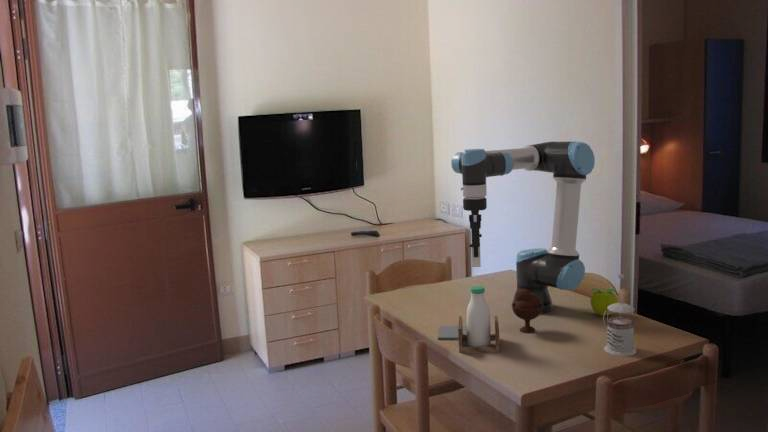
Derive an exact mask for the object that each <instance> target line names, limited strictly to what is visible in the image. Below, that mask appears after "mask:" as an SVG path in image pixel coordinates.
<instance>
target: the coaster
mask: <svg viewBox="0 0 768 432" xmlns="http://www.w3.org/2000/svg"><path fill="white" fill-rule="evenodd" d="M462 329H463V334H467V325H462ZM444 340H445V341H446V340H448V341H451V340H452V341H456V340H457V341H459V336H458V325H439V327H438V336H437V341H444ZM464 340H467V337H463V341H464Z"/></svg>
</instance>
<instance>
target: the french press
mask: <svg viewBox="0 0 768 432" xmlns="http://www.w3.org/2000/svg"><path fill="white" fill-rule="evenodd" d="M617 278H619V279H624V278H625V274H623V273H619V274H618V275H617ZM619 299H620V300H619V301H620V302H617V303H615V304H611V305H609V306H608V307H607V309H608V310H609V312H608V314H609V313H610V311H611V312H613V313H610V315H614V314H619V315H620V316H616V317H615V316H614V317H611V318H609V315H608V314H607V316H606V319H607V320H606V321H607V326H606V324H605V316H604V315H605V313H606V311H608V310H606V311H605V313H604V315H603V316H602V321H603V326H604V328H605V330H607V331H606V332H607V341H606V342H607V344H606V346H605V347H604V348H603V349H604V351H605V352H606V353H608V354H610V355H613V356H622V357H624V356H625V357H626V356H627V357H628V356H633V355H635V354H637V352H636V351H637V349H636V348H635V346H634V340H635V339H634V337H635V335H634V333H635V332H634V331H635V330H634V328H635V327H634V325H633V320H632V319H631V318H626V317H622V314H623V315H624V314H625V315H627V314H632V313H634V311H635V310H636V309H635V308H634V306H631V305H630V304H627V303H625V302H622V296H620V298H619ZM625 326H626V327H625ZM629 327H630V328H629Z"/></svg>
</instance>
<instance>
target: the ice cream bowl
mask: <svg viewBox="0 0 768 432" xmlns="http://www.w3.org/2000/svg"><path fill="white" fill-rule="evenodd" d="M514 296H515V300H516V302H514V303H513V302H512V303H511V304H510V305H511V308H512V311H513V314H514V315H515V316H516V317H518V318H519V319H521V320H523V321H524V325H523V326H522V327H520V328H519V332H520V333H522V334H533V333H536V329H535V328H534V327H533V326H531V323H530V322H531V321H532V320H535V319H536V318H538V317H539V316H540V315H541V314H542V313H541V312H542V310H543V304H542V303H540V300H539V298H538V296H537V295H536V294H534V293H531V292H529V291H528V290H525V289H520V290H518V291H517V292H516V291H515V294H514Z"/></svg>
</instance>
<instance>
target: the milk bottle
mask: <svg viewBox="0 0 768 432" xmlns="http://www.w3.org/2000/svg"><path fill="white" fill-rule="evenodd" d="M485 294H486V293H485V287H484V286H482V285H473V286H471V287H470V295H471V296H470V301H469V303H468V305H467V309H466V326H467V342H466V343H467V347H491V343H492V342H491V340H492V339H491V337H490V334H491V314H490V313H491V312H490V308H489V305H488V303H487V301H486V298H485Z"/></svg>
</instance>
